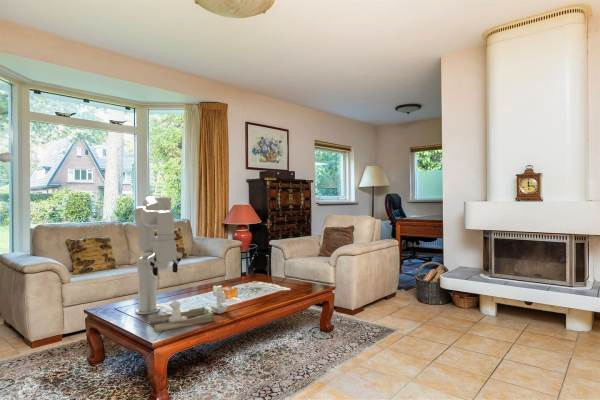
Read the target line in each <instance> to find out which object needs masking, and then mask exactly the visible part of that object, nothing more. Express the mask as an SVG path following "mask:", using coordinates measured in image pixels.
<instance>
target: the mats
mask: <svg viewBox="0 0 600 400" xmlns="http://www.w3.org/2000/svg"><path fill="white" fill-rule="evenodd" d="M163 323H164V321H160V322H155V323H150V324H149V325H150V326H151V327H152V328H153V330H154V331H155V325H158V324H163Z"/></svg>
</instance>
